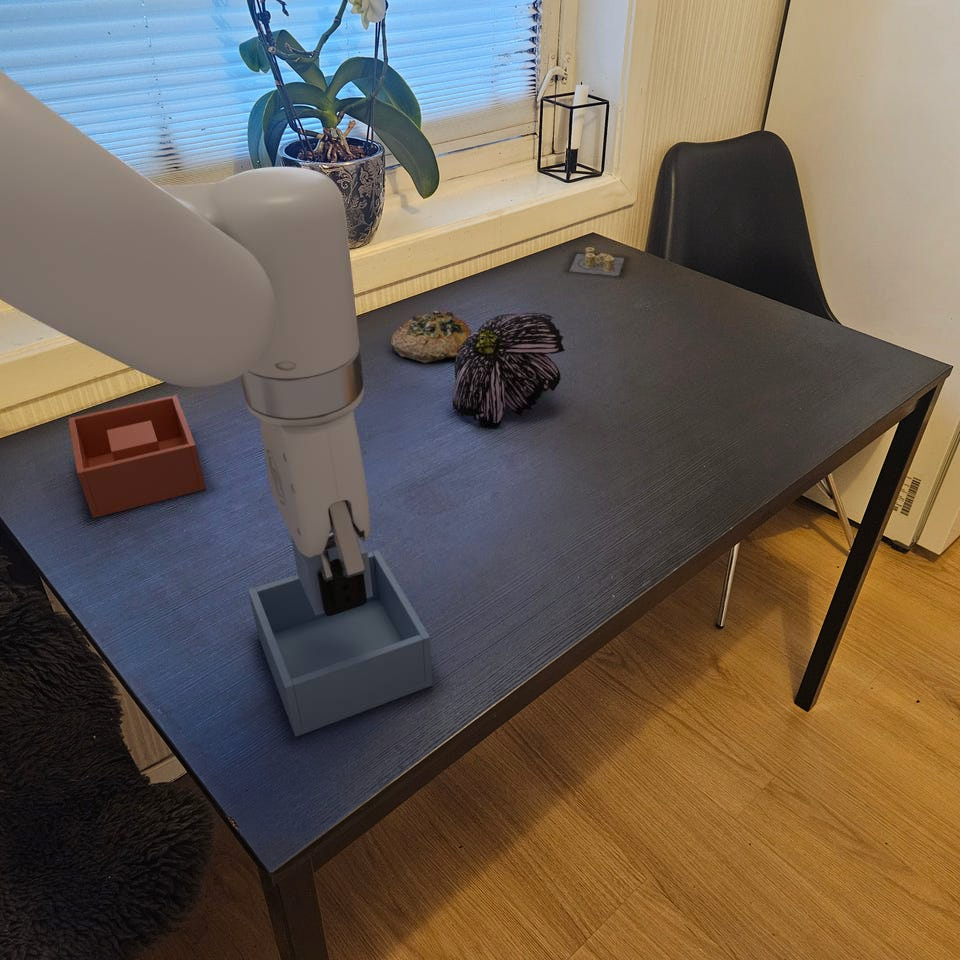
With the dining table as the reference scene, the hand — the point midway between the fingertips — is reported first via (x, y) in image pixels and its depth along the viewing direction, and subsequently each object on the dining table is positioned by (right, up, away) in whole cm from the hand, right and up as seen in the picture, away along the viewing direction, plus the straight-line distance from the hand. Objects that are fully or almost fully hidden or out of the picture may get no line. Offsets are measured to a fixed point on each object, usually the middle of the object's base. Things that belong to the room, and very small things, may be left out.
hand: (334, 584), depth 64 cm
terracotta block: (-25, +9, +26) cm, 37 cm away
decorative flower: (+14, +18, +39) cm, 45 cm away
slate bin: (0, -7, +5) cm, 8 cm away
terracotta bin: (-25, +9, +26) cm, 37 cm away
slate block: (0, 0, 0) cm, 0 cm away
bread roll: (+5, +26, +51) cm, 57 cm away
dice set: (+30, +43, +74) cm, 91 cm away
